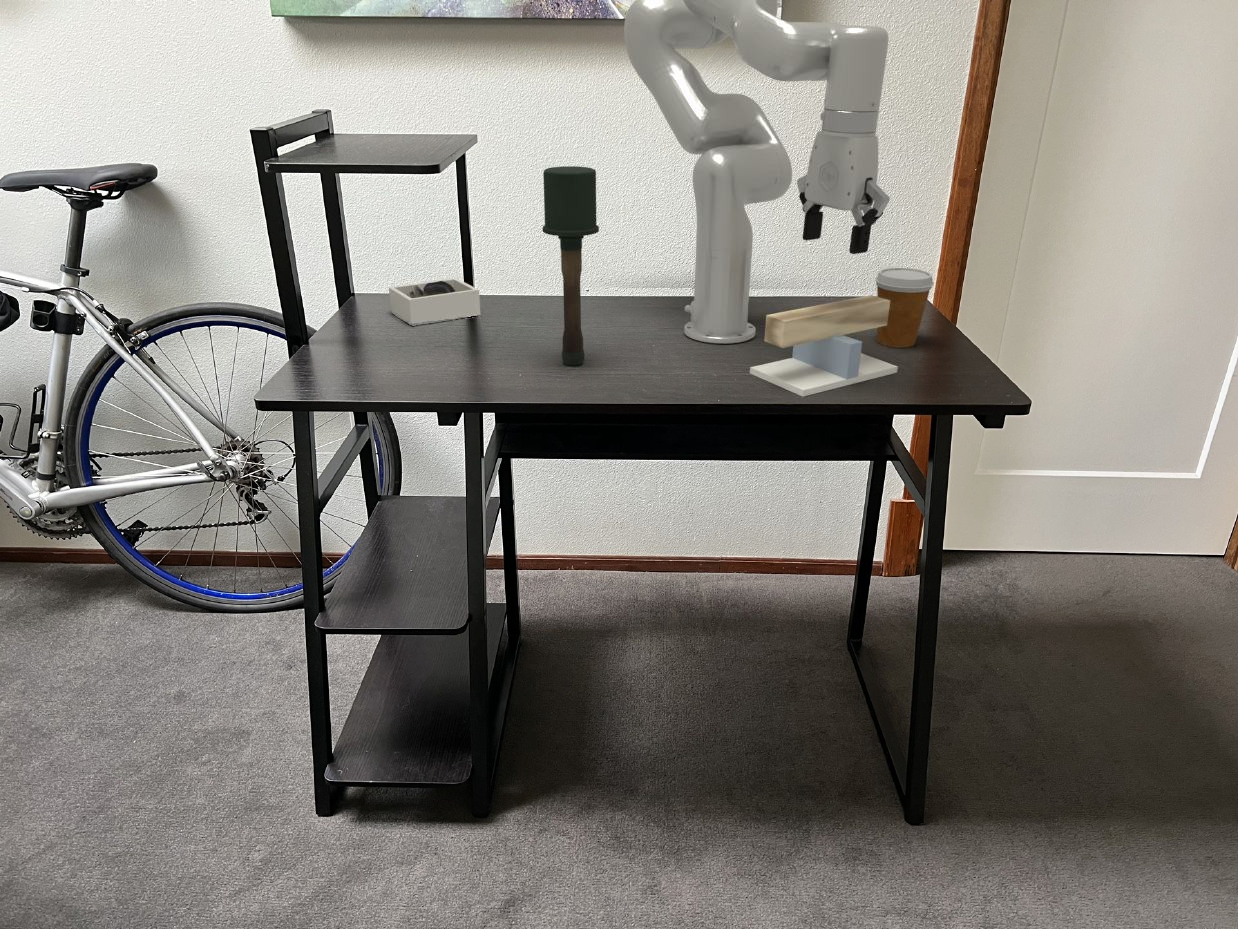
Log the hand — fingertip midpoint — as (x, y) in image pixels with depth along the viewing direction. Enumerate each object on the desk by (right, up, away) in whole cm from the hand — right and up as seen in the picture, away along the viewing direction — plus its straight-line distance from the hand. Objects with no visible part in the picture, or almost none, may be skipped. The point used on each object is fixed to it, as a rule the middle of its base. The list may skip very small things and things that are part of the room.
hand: (834, 245), depth 135 cm
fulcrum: (0, -18, +8) cm, 20 cm away
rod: (0, -12, +5) cm, 13 cm away
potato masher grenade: (-39, -16, +12) cm, 44 cm away
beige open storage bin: (-67, -4, +37) cm, 76 cm away
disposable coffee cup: (+16, -11, +23) cm, 30 cm away
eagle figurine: (-67, -4, +37) cm, 76 cm away
